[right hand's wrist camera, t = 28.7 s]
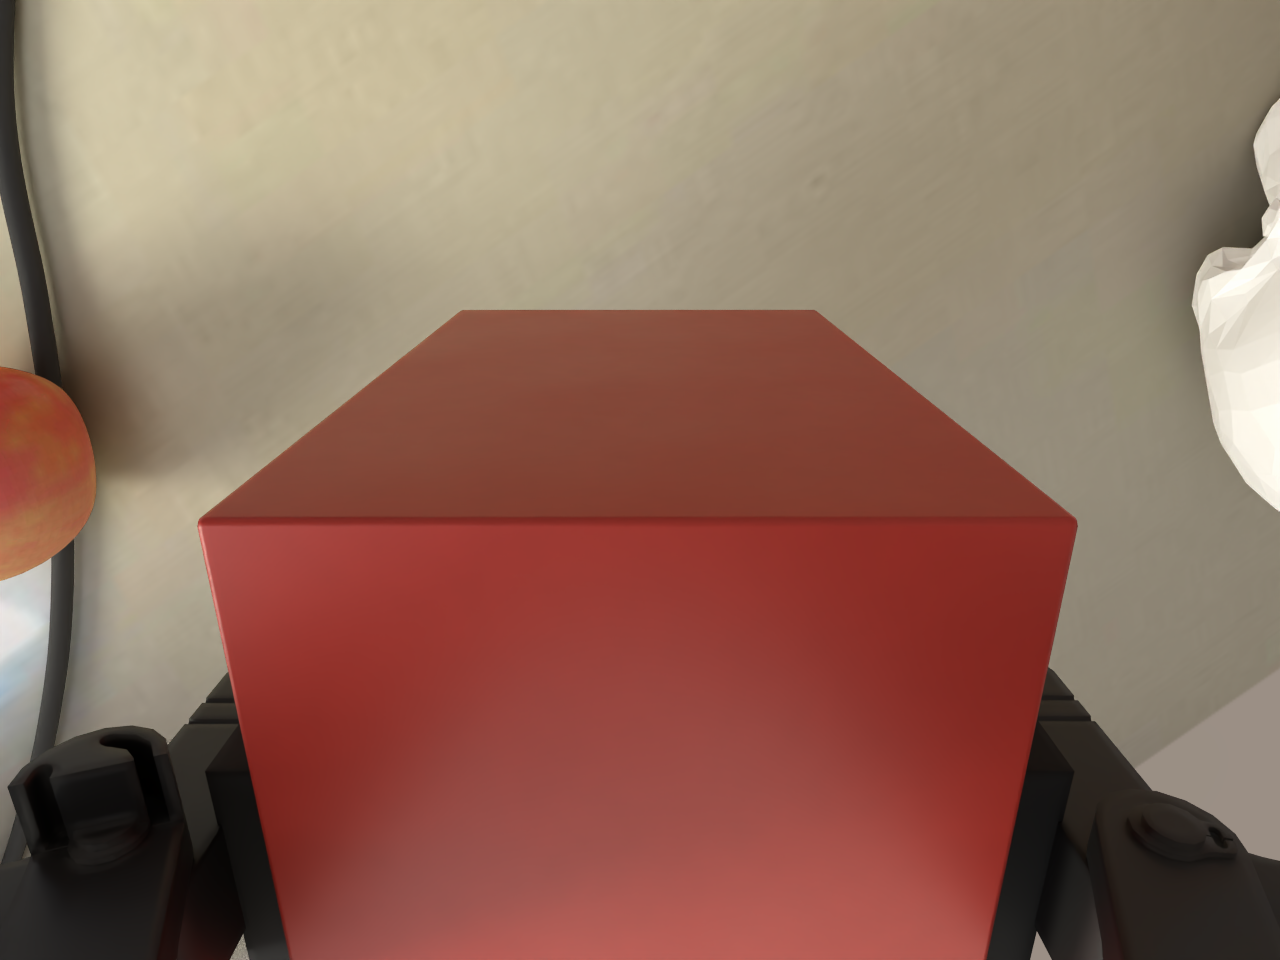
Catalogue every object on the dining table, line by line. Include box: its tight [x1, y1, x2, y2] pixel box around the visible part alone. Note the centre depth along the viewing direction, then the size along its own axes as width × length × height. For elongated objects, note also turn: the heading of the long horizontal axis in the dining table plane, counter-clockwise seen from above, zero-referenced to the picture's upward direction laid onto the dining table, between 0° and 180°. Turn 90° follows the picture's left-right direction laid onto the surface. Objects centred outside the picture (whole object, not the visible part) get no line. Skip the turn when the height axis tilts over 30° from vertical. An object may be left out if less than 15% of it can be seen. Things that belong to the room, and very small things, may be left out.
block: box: [198, 310, 1078, 960], centre depth 13 cm, size 9×7×10 cm
